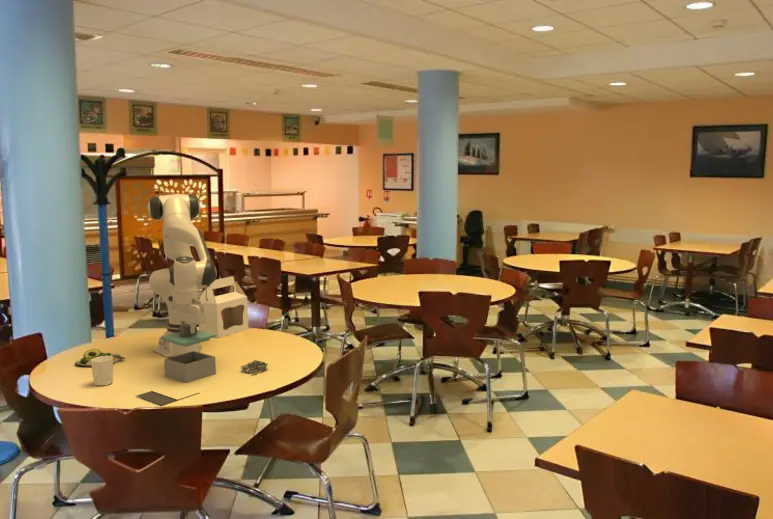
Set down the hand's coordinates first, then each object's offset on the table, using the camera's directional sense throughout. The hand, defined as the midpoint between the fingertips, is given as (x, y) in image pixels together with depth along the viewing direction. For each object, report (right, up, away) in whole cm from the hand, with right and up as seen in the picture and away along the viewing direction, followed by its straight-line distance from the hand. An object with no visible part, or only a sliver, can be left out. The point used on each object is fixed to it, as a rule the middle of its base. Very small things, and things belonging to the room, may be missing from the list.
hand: (188, 332), depth 257 cm
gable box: (-4, -9, +74) cm, 75 cm away
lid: (0, -4, +1) cm, 4 cm away
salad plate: (-47, -16, +25) cm, 55 cm away
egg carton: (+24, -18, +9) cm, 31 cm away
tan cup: (-32, -20, -5) cm, 38 cm away
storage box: (0, -18, +2) cm, 18 cm away
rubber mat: (-2, -21, -19) cm, 28 cm away
